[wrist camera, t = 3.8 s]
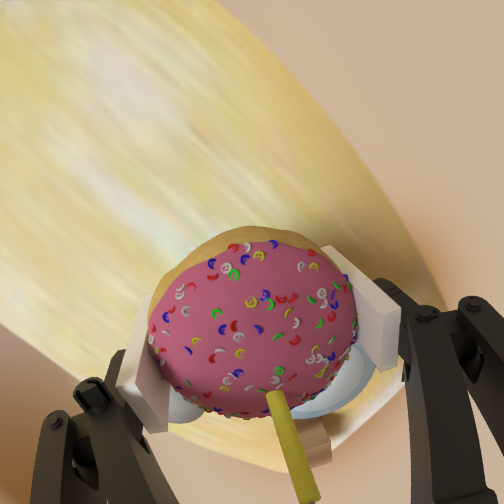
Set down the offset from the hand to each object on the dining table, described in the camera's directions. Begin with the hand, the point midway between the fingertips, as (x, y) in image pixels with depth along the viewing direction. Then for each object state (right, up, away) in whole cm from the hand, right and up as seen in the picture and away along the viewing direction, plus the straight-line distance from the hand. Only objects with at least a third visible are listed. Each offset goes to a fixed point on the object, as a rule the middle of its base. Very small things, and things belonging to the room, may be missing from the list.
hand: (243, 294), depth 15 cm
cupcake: (0, 0, +1) cm, 1 cm away
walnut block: (+5, -15, +11) cm, 19 cm away
